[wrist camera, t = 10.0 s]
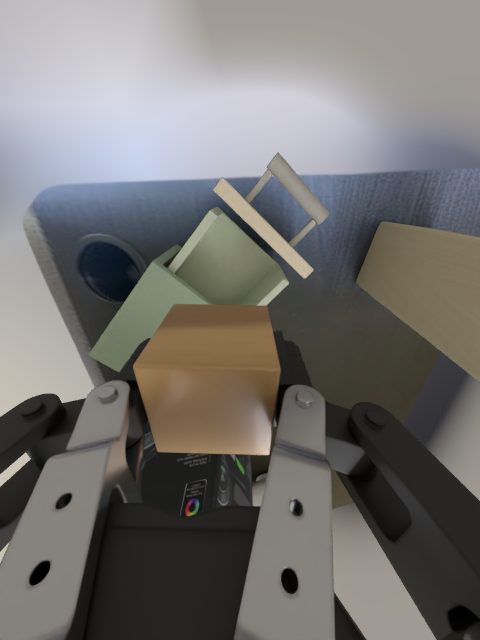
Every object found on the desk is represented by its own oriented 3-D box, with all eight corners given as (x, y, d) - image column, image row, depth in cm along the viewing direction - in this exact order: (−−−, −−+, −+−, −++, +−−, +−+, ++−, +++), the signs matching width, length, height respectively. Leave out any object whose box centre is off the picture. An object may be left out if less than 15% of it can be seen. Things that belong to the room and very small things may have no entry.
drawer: (256, 141, 22) (261, 121, 16) (328, 224, 25) (354, 232, 19) (161, 273, 29) (139, 294, 23) (228, 324, 32) (224, 353, 26)
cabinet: (177, 243, 28) (152, 261, 20) (251, 304, 32) (253, 338, 24) (123, 319, 33) (87, 355, 26) (192, 363, 37) (178, 405, 30)
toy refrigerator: (406, 291, 30) (657, 439, 12) (353, 284, 30) (529, 425, 11) (439, 229, 26) (889, 304, 8) (379, 220, 26) (707, 277, 8)
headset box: (228, 357, 36) (202, 623, 14) (252, 405, 42) (260, 651, 19) (114, 389, 40) (-51, 634, 18) (149, 429, 46) (56, 655, 23)
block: (173, 302, 10) (130, 366, 6) (267, 304, 10) (281, 369, 6) (183, 373, 12) (156, 453, 9) (262, 375, 12) (269, 456, 9)
